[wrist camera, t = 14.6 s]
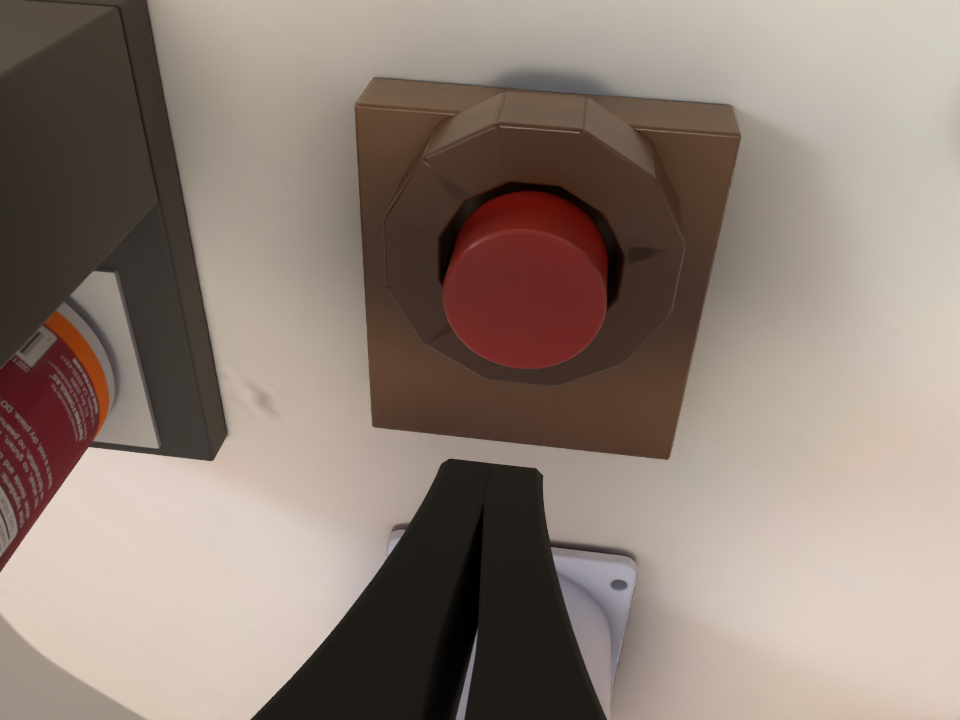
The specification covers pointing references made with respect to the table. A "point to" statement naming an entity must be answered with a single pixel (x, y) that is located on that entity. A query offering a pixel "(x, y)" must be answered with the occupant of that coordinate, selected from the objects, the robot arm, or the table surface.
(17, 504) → the pill bottle
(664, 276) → the control box
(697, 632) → the table surface
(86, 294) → the coffee maker
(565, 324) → the button
